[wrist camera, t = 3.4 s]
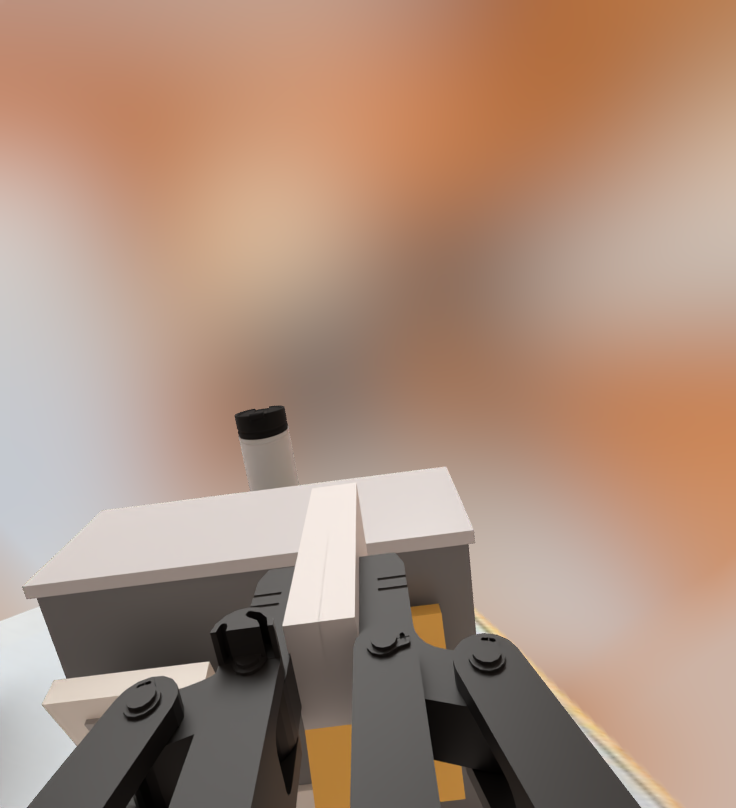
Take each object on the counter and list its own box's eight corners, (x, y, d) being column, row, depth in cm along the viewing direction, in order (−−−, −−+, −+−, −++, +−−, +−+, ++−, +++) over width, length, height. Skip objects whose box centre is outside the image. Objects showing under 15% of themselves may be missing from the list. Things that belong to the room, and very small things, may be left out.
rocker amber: (466, 802, 26) (442, 615, 26) (315, 820, 26) (290, 633, 26) (461, 781, 27) (438, 603, 27) (318, 797, 27) (295, 621, 27)
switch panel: (497, 815, 32) (474, 531, 26) (122, 858, 32) (20, 588, 27) (468, 700, 40) (446, 466, 34) (171, 736, 41) (101, 510, 35)
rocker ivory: (252, 785, 29) (202, 690, 24) (118, 801, 29) (38, 710, 24) (256, 757, 30) (209, 661, 25) (127, 772, 30) (53, 680, 25)
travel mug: (261, 566, 63) (228, 418, 57) (265, 539, 69) (237, 403, 64) (309, 557, 63) (282, 409, 58) (309, 531, 70) (285, 396, 64)
